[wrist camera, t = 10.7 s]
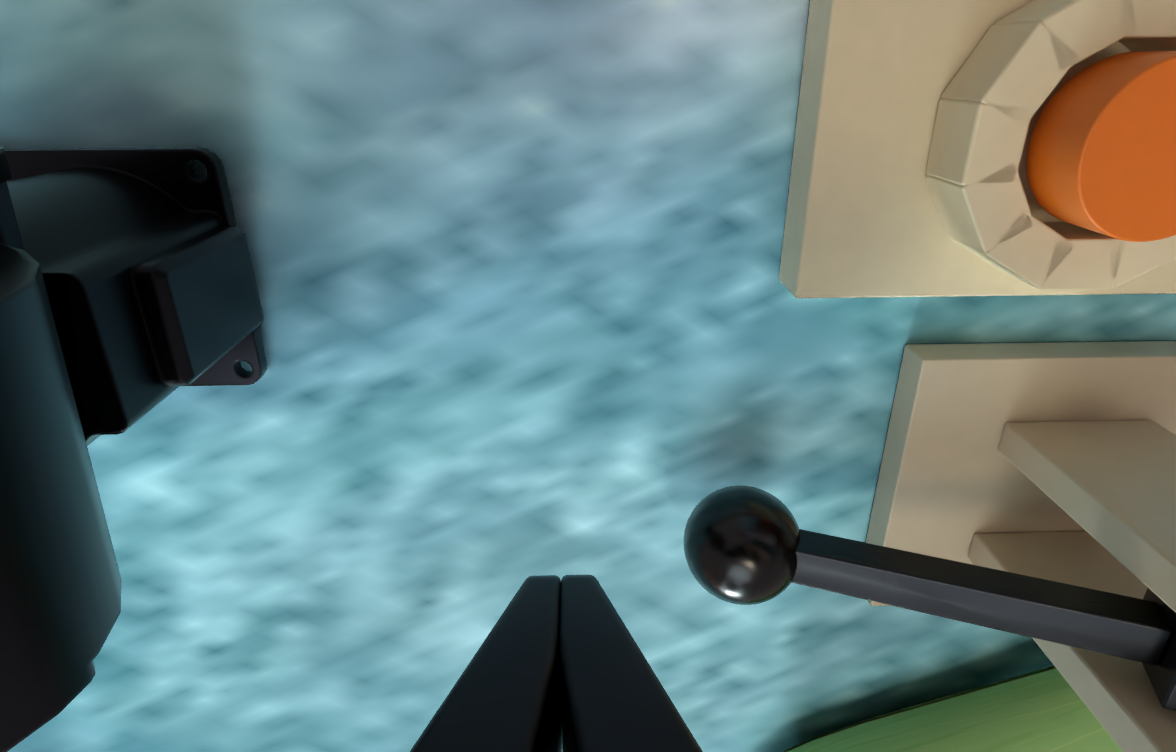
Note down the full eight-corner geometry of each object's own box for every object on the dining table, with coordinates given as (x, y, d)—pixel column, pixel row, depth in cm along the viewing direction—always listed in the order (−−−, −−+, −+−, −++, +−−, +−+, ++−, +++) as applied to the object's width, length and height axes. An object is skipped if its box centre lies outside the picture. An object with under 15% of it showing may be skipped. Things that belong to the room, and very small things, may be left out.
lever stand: (857, 581, 24) (1010, 862, 16) (904, 343, 20) (1140, 544, 12) (1137, 576, 24) (1439, 851, 16) (1236, 339, 21) (1700, 534, 12)
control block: (777, 280, 19) (818, 323, 16) (814, -49, 16) (874, -76, 13) (1194, 275, 20) (1314, 316, 17) (1316, -51, 16) (1495, -78, 13)
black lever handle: (694, 543, 22) (668, 613, 19) (700, 455, 20) (674, 517, 18) (1248, 665, 17) (1320, 780, 14) (1303, 563, 16) (1394, 668, 13)
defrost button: (1007, 224, 16) (1056, 243, 14) (1050, 52, 14) (1110, 51, 13) (1161, 223, 16) (1227, 241, 14) (1220, 50, 14) (1301, 50, 13)
